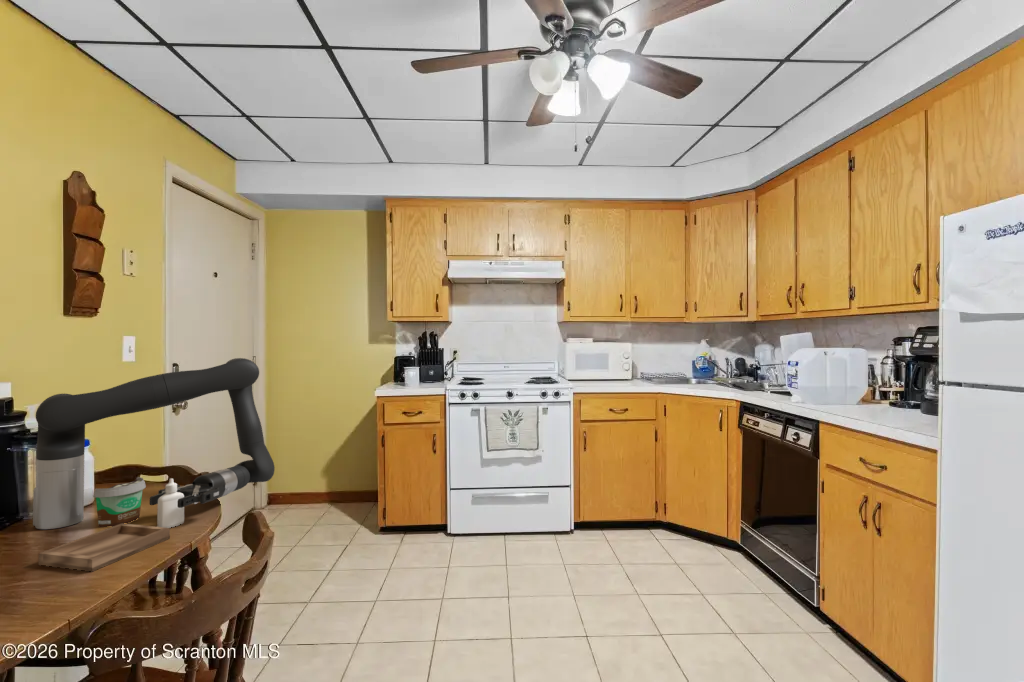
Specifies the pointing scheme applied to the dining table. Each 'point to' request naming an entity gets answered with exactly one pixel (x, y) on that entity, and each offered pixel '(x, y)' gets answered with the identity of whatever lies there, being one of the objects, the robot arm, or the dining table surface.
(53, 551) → the walnut tray
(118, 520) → the food container
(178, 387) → the robot arm
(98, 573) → the dining table surface
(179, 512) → the eye dropper bottle
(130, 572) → the dining table surface
